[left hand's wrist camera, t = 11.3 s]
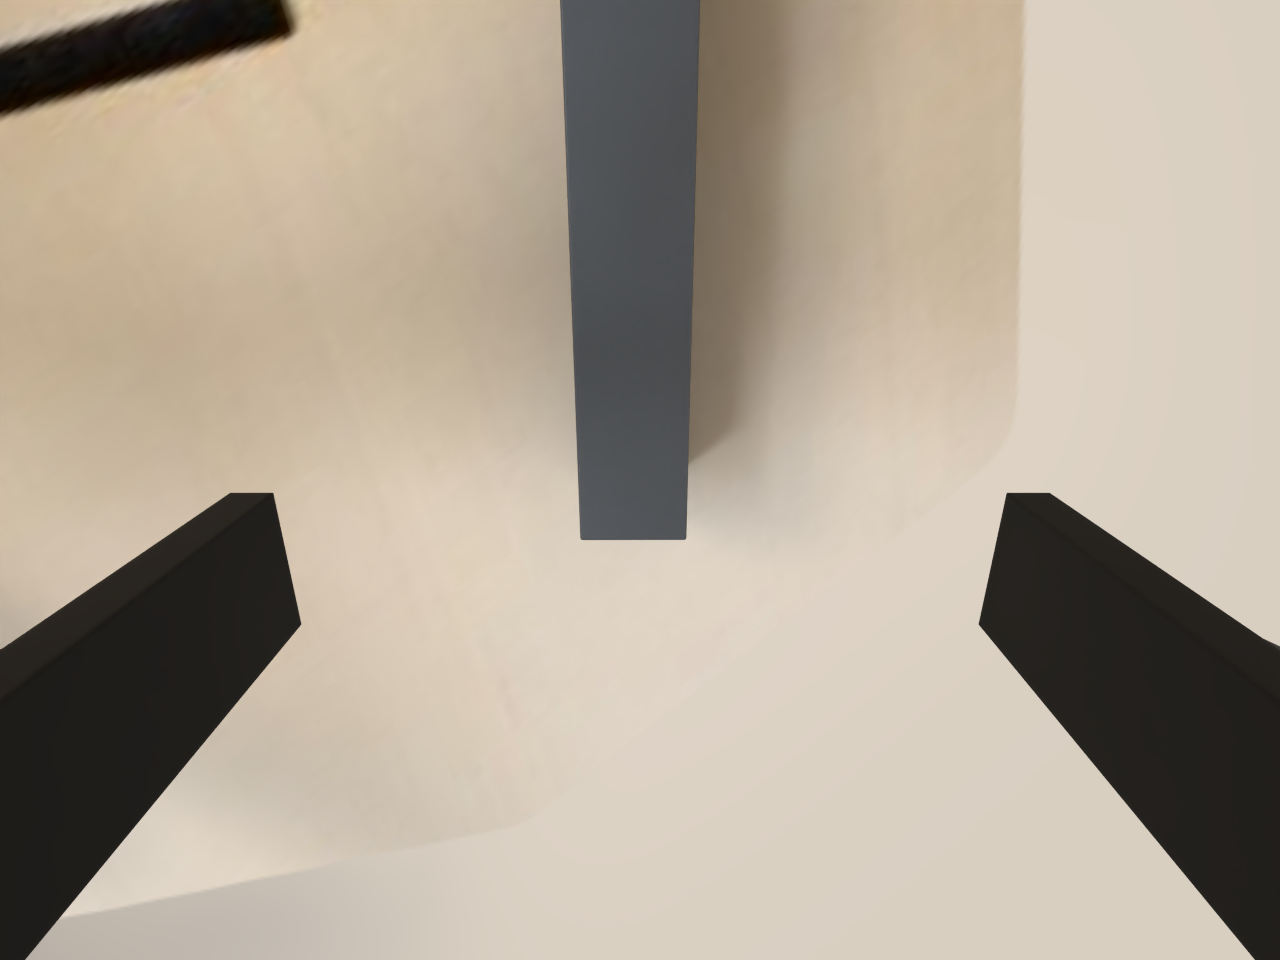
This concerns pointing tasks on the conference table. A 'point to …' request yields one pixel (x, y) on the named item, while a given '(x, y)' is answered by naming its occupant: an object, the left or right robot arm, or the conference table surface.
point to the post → (631, 257)
